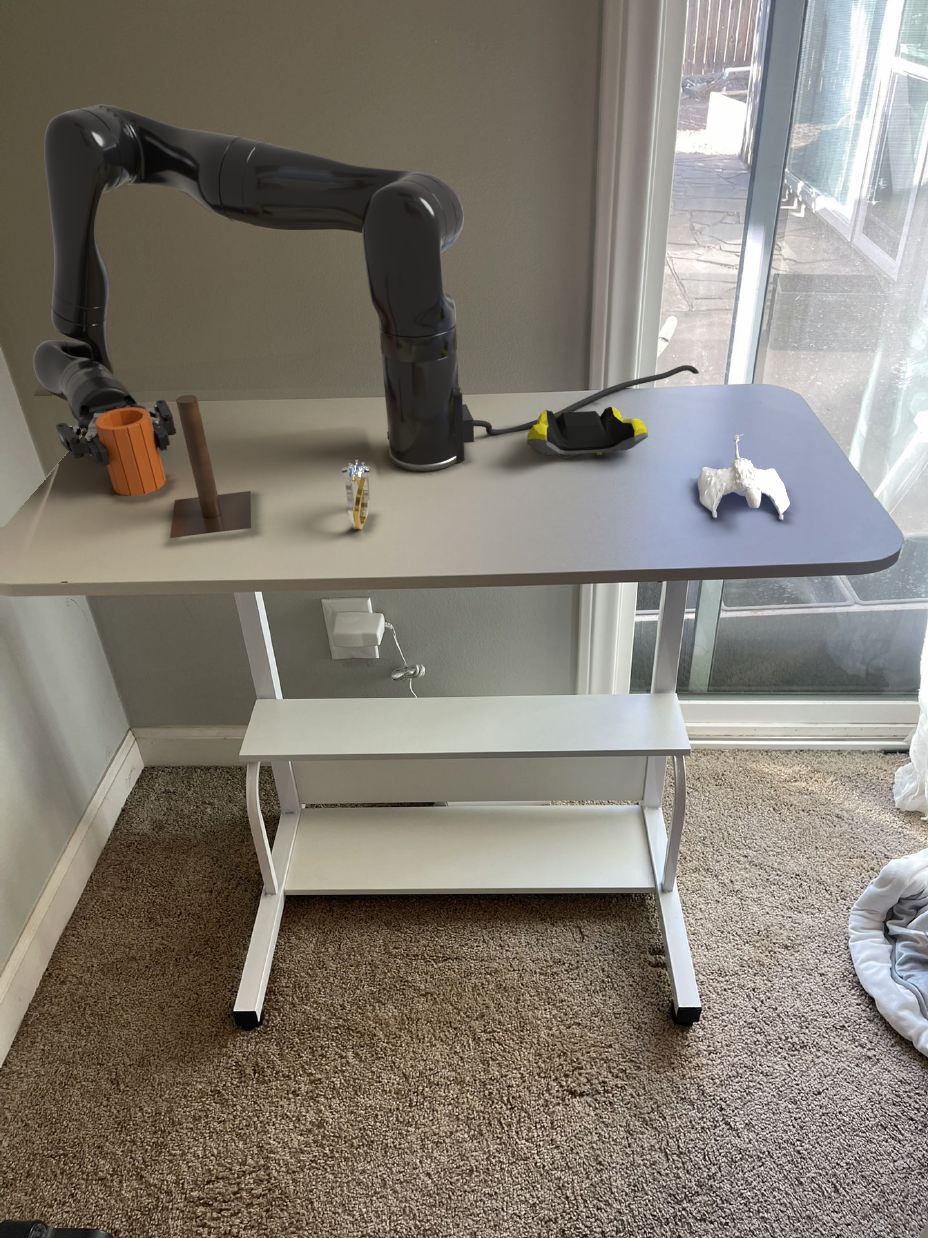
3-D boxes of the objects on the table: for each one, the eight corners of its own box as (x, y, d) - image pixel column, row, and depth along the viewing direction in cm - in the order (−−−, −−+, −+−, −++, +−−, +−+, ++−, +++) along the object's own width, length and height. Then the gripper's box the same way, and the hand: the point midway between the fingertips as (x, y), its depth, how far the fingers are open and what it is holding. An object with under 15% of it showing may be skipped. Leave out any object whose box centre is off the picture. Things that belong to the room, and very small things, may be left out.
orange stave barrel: (168, 474, 118) (151, 404, 112) (165, 497, 113) (146, 425, 107) (118, 480, 117) (98, 410, 111) (113, 503, 112) (91, 431, 106)
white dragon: (690, 456, 117) (694, 426, 115) (772, 458, 116) (778, 428, 114) (704, 529, 103) (709, 496, 100) (798, 532, 102) (805, 499, 99)
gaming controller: (648, 466, 115) (632, 432, 123) (652, 425, 112) (635, 393, 120) (529, 472, 115) (520, 437, 123) (529, 431, 112) (521, 399, 120)
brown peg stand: (251, 496, 112) (229, 379, 103) (252, 533, 105) (228, 410, 96) (176, 505, 111) (147, 387, 102) (171, 543, 104) (139, 420, 95)
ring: (368, 543, 103) (361, 479, 98) (340, 541, 103) (332, 477, 98) (382, 512, 108) (376, 450, 103) (356, 510, 109) (348, 449, 104)
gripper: (35, 388, 116) (63, 436, 104) (148, 364, 122) (187, 406, 110) (53, 443, 121) (81, 494, 109) (161, 417, 126) (199, 463, 115)
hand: (134, 450), depth 110 cm, fingers closed on orange stave barrel, 6 cm apart
